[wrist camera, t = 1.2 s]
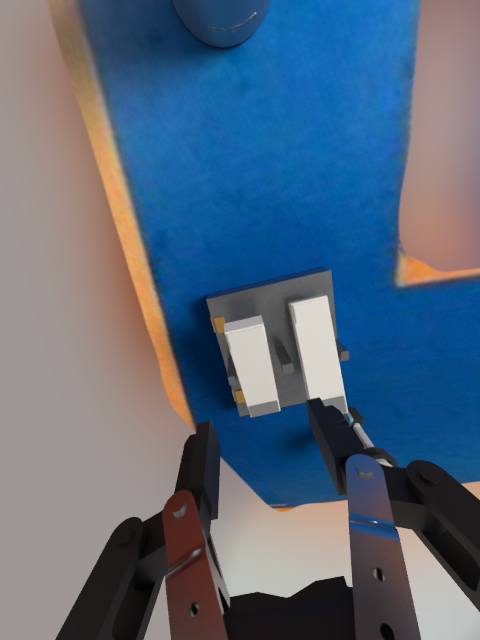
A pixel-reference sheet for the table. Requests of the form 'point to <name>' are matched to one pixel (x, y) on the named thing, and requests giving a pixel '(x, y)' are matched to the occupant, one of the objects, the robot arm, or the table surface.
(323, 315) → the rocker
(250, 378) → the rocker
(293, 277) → the switch unit
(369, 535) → the robot arm
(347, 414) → the push button
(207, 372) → the table surface
